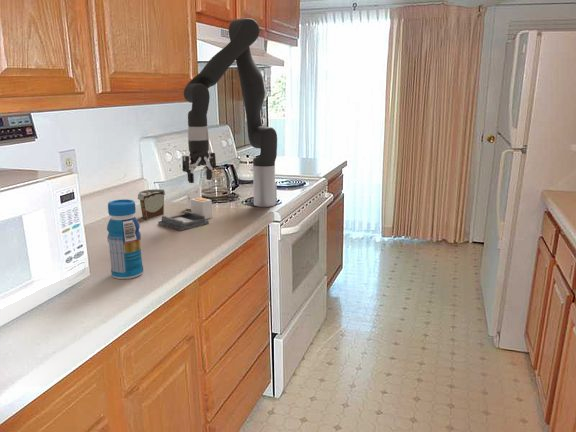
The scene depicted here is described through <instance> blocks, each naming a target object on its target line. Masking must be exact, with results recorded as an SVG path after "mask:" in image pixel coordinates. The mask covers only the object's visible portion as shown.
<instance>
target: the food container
mask: <svg viewBox="0 0 576 432" xmlns="http://www.w3.org/2000/svg"><path fill="white" fill-rule="evenodd" d="M165 195H166V192H165V190H164V189H161V188H160V189H157V188H156V189H154V188H153V189H146V190H141V191H139V192H138V194H137V199H138V201H139V203H140V210H141V216H142V219H143V220H145V221H149V220H152V219H155V218H158V216H159V217H162V216H165ZM161 215H162V216H161Z"/></svg>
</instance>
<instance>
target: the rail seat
mask: <svg viewBox="0 0 576 432" xmlns="http://www.w3.org/2000/svg"><path fill="white" fill-rule="evenodd" d="M209 222H210V221H209V220H208V219H205V216H203V215H200V214H196V213H192V212H191V211H189V210H188V211H187V210H184V211H183V213H182V214H177V215H173V216H172V215H171V216H166V215H162V216H161V220H160V221H158V222H157V223H158V225H159V226H163V227H165V228H169V229H172V230H175V231H179V232H181V231H185V230H188V229H189V230H190V229H193V228H197V227H201V226H204V225H208V224H209Z"/></svg>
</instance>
